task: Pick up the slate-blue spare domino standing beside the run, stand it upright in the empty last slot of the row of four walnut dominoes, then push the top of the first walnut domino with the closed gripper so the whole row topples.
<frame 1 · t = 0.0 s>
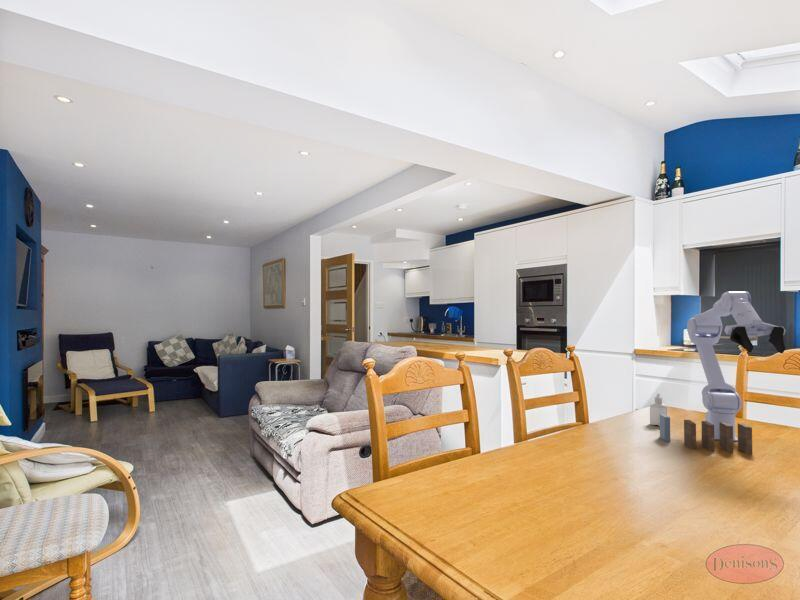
hand: (766, 350, 122), 32 cm above the table, tool tilted 50°, fingers open, 7 cm apart
spare domino: (664, 439, 145), on the table
domino 4: (690, 446, 137), on the table
domino 2: (726, 449, 134), on the table
eye dropper bottle: (658, 425, 163), on the table
domino 1: (745, 451, 133), on the table
domino 3: (708, 448, 136), on the table
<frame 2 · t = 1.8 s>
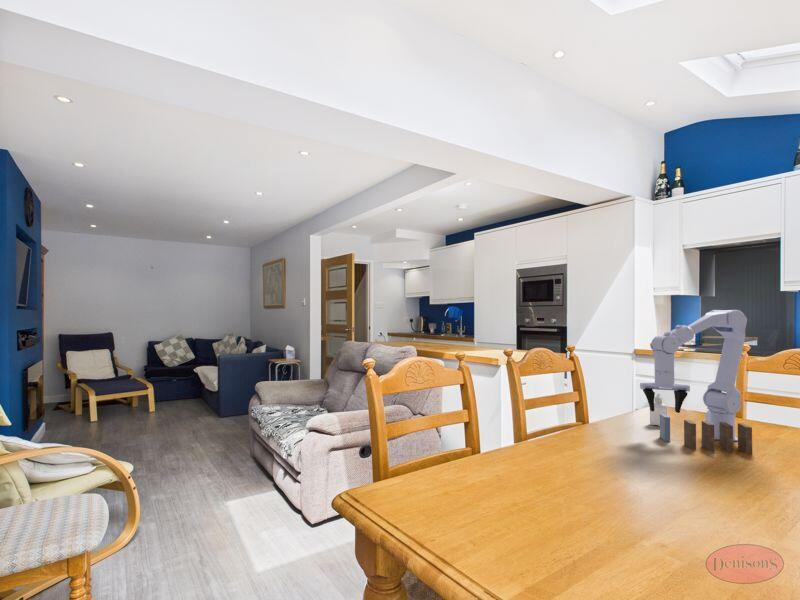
hand: (664, 411, 145), 9 cm above the table, tool pointing down, fingers open, 7 cm apart
nothing on the table moved.
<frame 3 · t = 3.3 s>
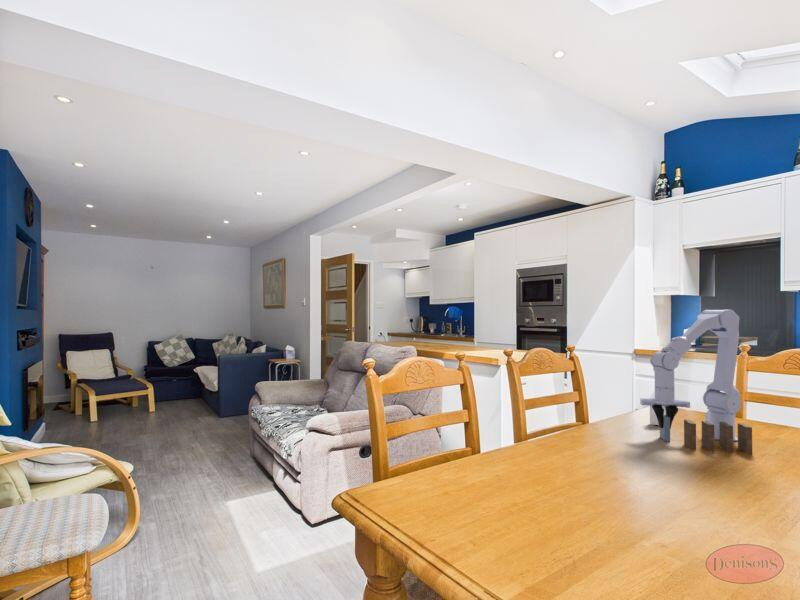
hand: (664, 427, 145), 4 cm above the table, tool pointing down, fingers closed on spare domino, 2 cm apart
spare domino: (664, 439, 145), on the table, touching gripper
everything else where it was.
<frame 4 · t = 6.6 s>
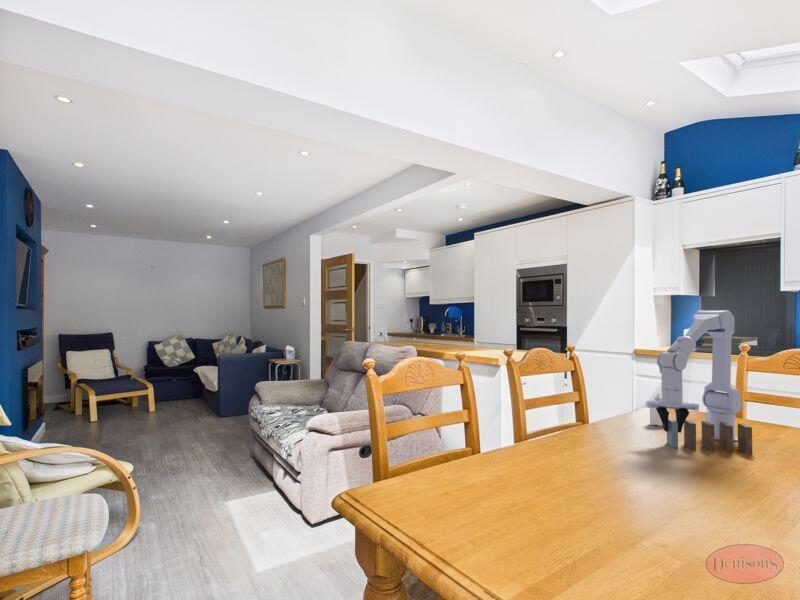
hand: (672, 431, 138), 5 cm above the table, tool pointing down, fingers open, 3 cm apart
spare domino: (672, 445, 138), on the table
everything else where it was.
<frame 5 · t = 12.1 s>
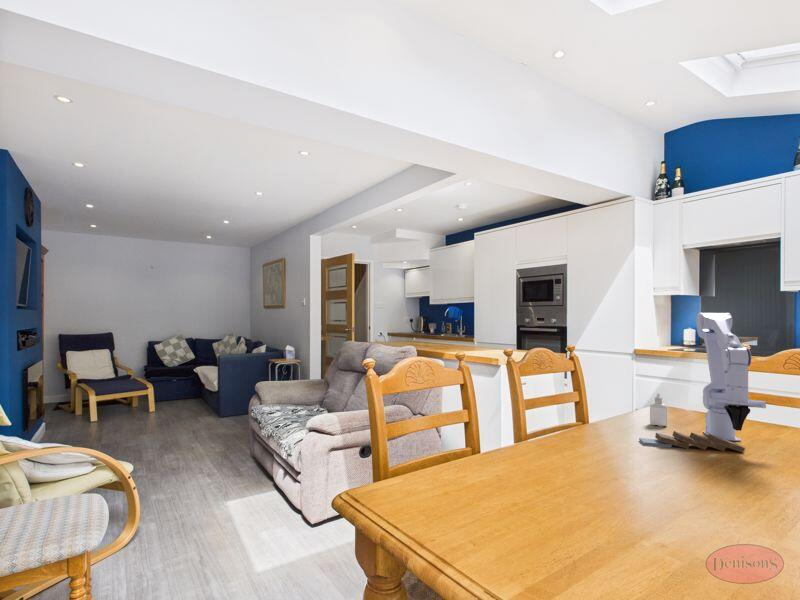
hand: (737, 429, 134), 6 cm above the table, tool pointing down, fingers closed
spare domino: (668, 444, 138), on the table, tilted 90°
domino 4: (685, 444, 137), point 1 cm above the table, tilted 78°, touching domino 3
domino 2: (720, 446, 135), point 1 cm above the table, tilted 71°, touching domino 1, domino 3
domino 1: (739, 448, 134), point 1 cm above the table, tilted 71°, touching domino 2
domino 3: (702, 445, 136), point 1 cm above the table, tilted 71°, touching domino 2, domino 4
everything else where it was.
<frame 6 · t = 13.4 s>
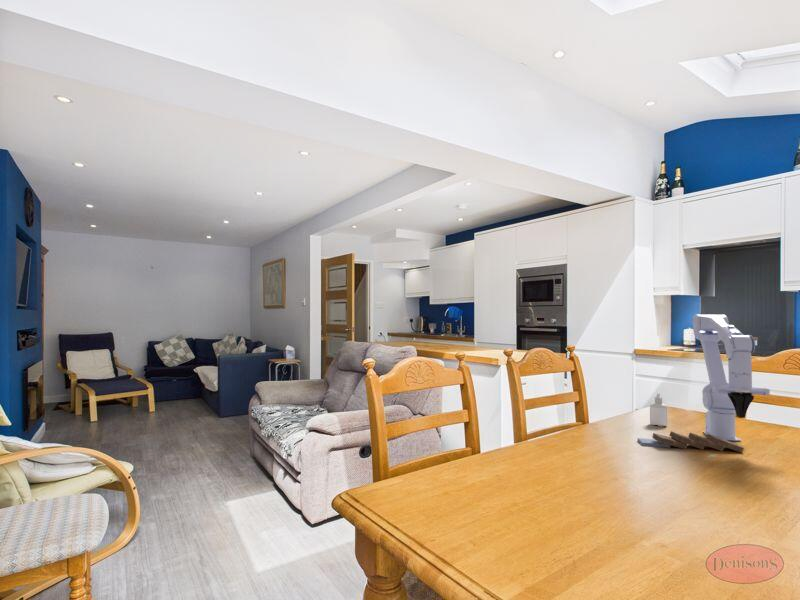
hand: (740, 417, 134), 10 cm above the table, tool pointing down, fingers closed
spare domino: (667, 444, 139), on the table, tilted 90°, touching domino 4
domino 4: (682, 443, 137), point 1 cm above the table, tilted 77°, touching domino 3, spare domino
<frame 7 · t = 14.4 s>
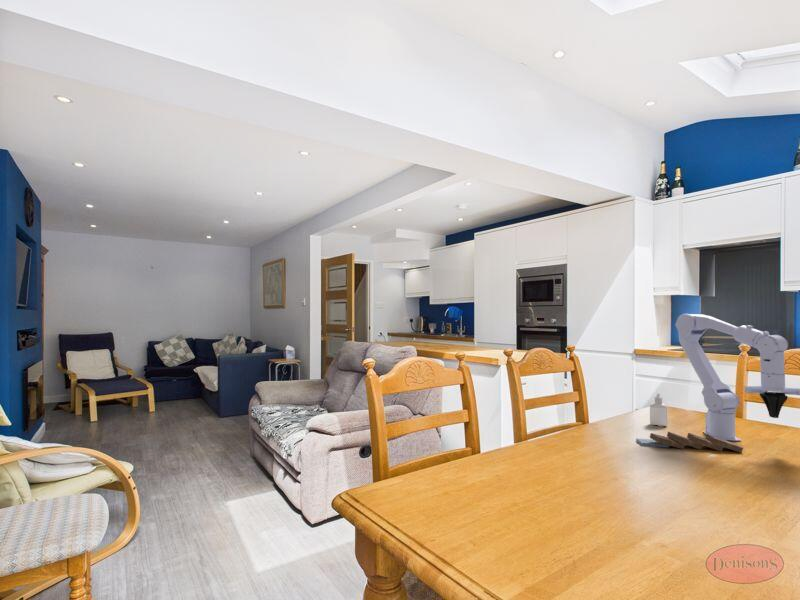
hand: (773, 417, 134), 10 cm above the table, tool pointing down, fingers closed
spare domino: (665, 444, 139), on the table, tilted 90°
domino 4: (678, 443, 137), point 1 cm above the table, tilted 76°, touching domino 3
domino 2: (718, 446, 135), point 1 cm above the table, tilted 73°, touching domino 1
domino 3: (696, 444, 137), point 1 cm above the table, tilted 72°, touching domino 4
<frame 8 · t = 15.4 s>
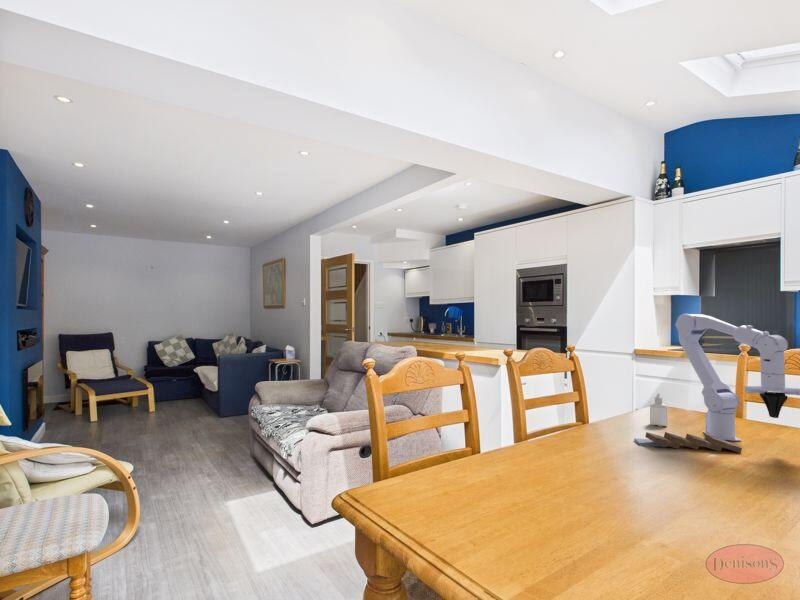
hand: (773, 417, 134), 10 cm above the table, tool pointing down, fingers closed
domino 4: (674, 443, 137), point 1 cm above the table, tilted 75°, touching domino 3
domino 2: (717, 446, 135), point 1 cm above the table, tilted 74°, touching domino 1, domino 3
domino 3: (693, 444, 136), point 1 cm above the table, tilted 74°, touching domino 2, domino 4
at the end: spare domino tilted 90°; domino 4 tilted 75°; domino 1 tilted 73° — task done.
